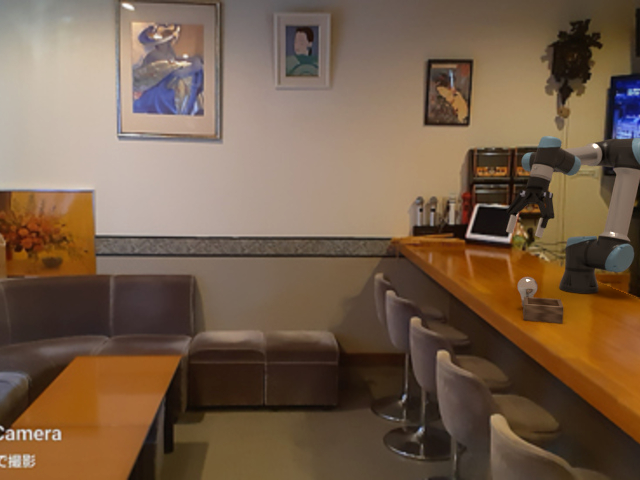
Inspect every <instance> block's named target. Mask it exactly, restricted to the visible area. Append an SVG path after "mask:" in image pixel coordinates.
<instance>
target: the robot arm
mask: <svg viewBox="0 0 640 480" xmlns="http://www.w3.org/2000/svg"><path fill="white" fill-rule="evenodd" d="M562 143H563V142H562V140H561V139H560V138H558V137H555V136H551V135H546V136H545V135H544V136H542V137H541V138H540V139H539V142H538V145H537V149H536V152H535V151H532V152H527V153H525V154H524V155H523V156H522V158H521V167H522V168H523V170H524V171H526V172H530V174H529V176H528V180H527V183H526V190H522V189H519V190H518V193H517V195H516V196H515V197H514V199H513V201H512V202H511V203H510V205H509V206H508V207H507V209H506V213H507V214H509V216H508V219H507V227H506V230H505V231H506V233H510V234H513V233H514V231H515V226H516V223H517V219H518V216H517V215H518V214H519V213H520V212H521V211H522V210H524V209H525V208H526V206H528V205H530V204H531V205H533V204H535V205H537V207H538V210H539V212H540V214H541V217H540V218H539V220H538V224H537V227H536V230H535V234H534V237H538V238H540V239H542V238H543V234H544V231H545V229H547V225H548V222H549V220H554V219H555V211H554V203H553V198H554V193H553V192H551V191H548V190H549V188H550V184H551V182H550V181H552V178H553V173H560V174H563V175H564V176H565V175H567V176H570V177H571V176H575V175H576V174H578V172H579V171H580V169H581V166H588V167H607V168H613V171H614V173H615V175H616V176H615V180H614V183H613V184H614V185H613V189H612V193H611V197H610V203H609V206H608V212H607V215H606V220H605V224H604V227H603V228H604V229H603V232H601V233H600V234H598V236H597V235H585V236H582V235H580V236H570V237H568V238H567V240H566V246H565V261H564V263H565V265H564V266H565V267H564V272H563V274H562V277H561V279H560V282H559V289H560V290H561V291H564V292H570V293H573V294H574V293H575V294H595V293H598V292H599V284H598V280H597V276H596V270H601V271H607V272H610V273H613V272H614V273H623V272H624V271H626V270H627V269H629V268H630V266H631V265H632V263H633V261H634V257H635V252H634V247H633V246H632V245H631V244H630V243H631V240H630V238H629V237H628V234H629V229H630V223H631V220H632V217H633V216H632V215H633V211H634V208H635V207H634V206H635V201H636V199H637V192H638V187H639V184H640V137H633V138H632V137H631V138H629V137H628V138H611V139H605V140H602V141H601V140H600V141H596V142H590V143H587V144H585V146H584V145H583V146H577V147H568V148H561V147H562Z"/></svg>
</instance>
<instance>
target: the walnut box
mask: <svg viewBox="0 0 640 480" xmlns="http://www.w3.org/2000/svg"><path fill="white" fill-rule="evenodd" d="M522 307H523V308H522V314H523V321H527V322H528V320H529V322H539V321H541V322H540V323H553V324H563V321H564V305H563V302H562V299H559V298H549V297H547V298H546V297H534V296H533V297H524V303H523V306H522Z"/></svg>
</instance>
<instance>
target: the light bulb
mask: <svg viewBox="0 0 640 480" xmlns="http://www.w3.org/2000/svg"><path fill="white" fill-rule="evenodd" d="M517 290H518V292H519V294H520V299H521V306H522V307H523V303H524V297H534V295H535V294H536V293H537V291H538V283H537V281H536V280H535V279H534V278H533V277H531V276H524V277H522V278H521V279H519V281H518V283H517Z"/></svg>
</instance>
